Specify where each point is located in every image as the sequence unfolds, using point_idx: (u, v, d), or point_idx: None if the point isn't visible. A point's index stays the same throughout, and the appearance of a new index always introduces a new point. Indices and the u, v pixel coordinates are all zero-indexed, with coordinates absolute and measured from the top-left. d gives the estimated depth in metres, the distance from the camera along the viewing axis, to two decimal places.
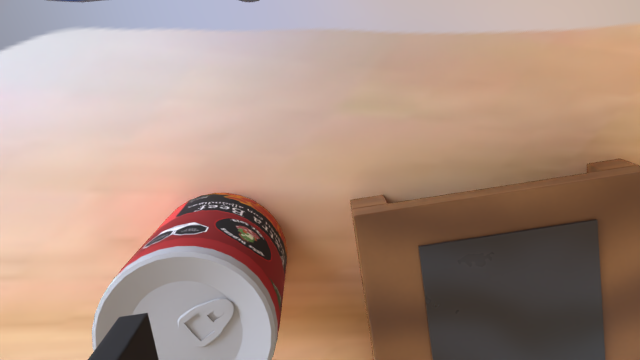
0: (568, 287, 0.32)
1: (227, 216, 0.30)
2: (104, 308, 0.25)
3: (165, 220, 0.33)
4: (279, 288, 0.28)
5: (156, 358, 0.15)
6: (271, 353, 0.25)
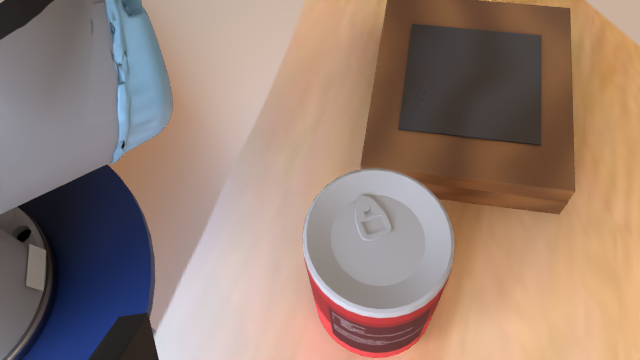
0: (458, 46, 0.44)
1: None
2: (332, 287, 0.29)
3: (321, 320, 0.37)
4: None
5: (156, 358, 0.15)
6: (410, 177, 0.31)
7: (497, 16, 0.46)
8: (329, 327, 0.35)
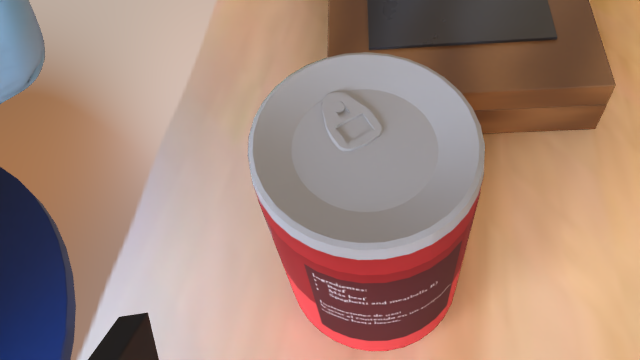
0: None
1: None
2: (303, 222, 0.18)
3: (304, 309, 0.26)
4: None
5: (156, 358, 0.15)
6: (397, 57, 0.21)
7: None
8: (315, 313, 0.24)
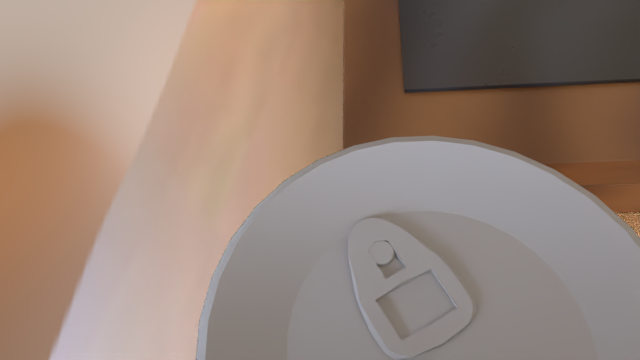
0: None
1: None
2: None
3: None
4: None
5: None
6: (493, 147, 0.11)
7: None
8: None
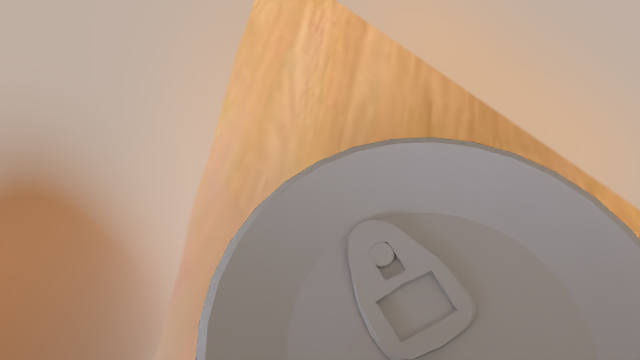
0: None
1: None
2: None
3: None
4: None
5: None
6: (493, 149, 0.11)
7: None
8: None
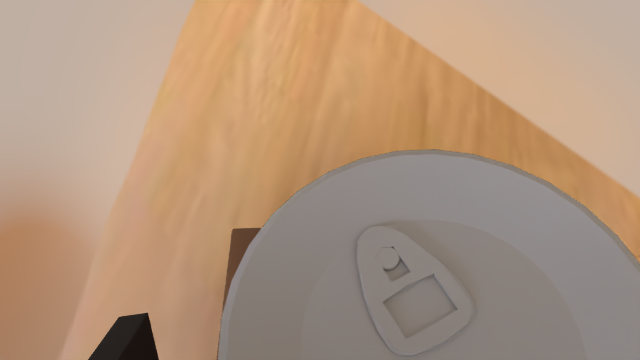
0: None
1: None
2: None
3: None
4: None
5: (156, 358, 0.15)
6: (492, 161, 0.12)
7: None
8: None
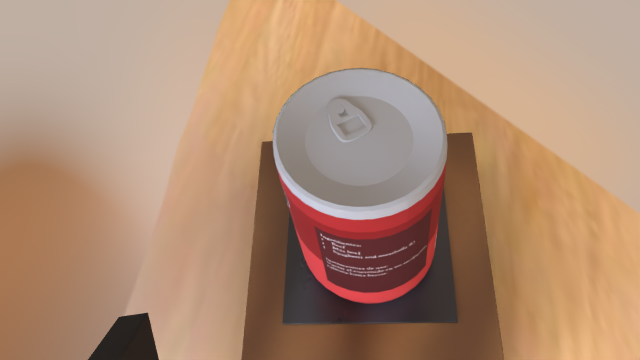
0: None
1: None
2: (314, 193, 0.24)
3: (313, 269, 0.32)
4: None
5: (156, 358, 0.15)
6: (384, 71, 0.28)
7: None
8: (322, 271, 0.31)
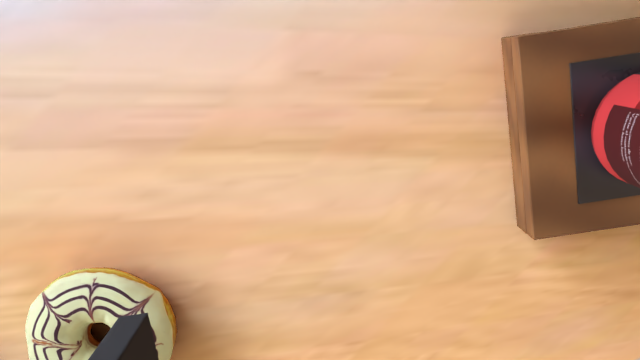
0: None
1: None
2: None
3: (622, 88, 0.37)
4: None
5: (156, 358, 0.15)
6: None
7: None
8: (623, 102, 0.36)
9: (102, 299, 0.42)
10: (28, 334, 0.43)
